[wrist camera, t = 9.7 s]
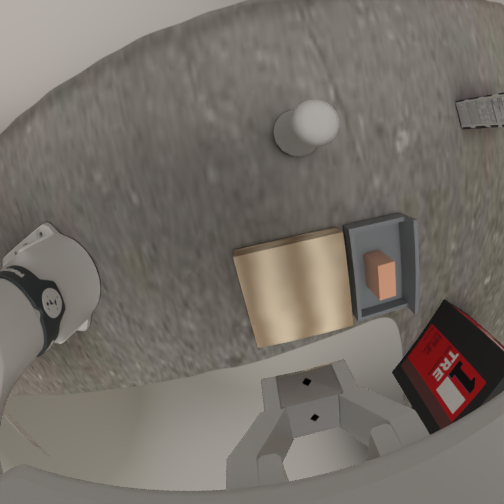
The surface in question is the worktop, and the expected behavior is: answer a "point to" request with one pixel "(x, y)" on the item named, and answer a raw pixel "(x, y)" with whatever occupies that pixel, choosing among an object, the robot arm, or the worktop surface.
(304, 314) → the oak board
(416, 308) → the tray
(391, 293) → the terracotta tile
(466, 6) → the worktop surface
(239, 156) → the worktop surface
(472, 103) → the candy bar box
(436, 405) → the cleaning product box
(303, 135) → the salt shaker
